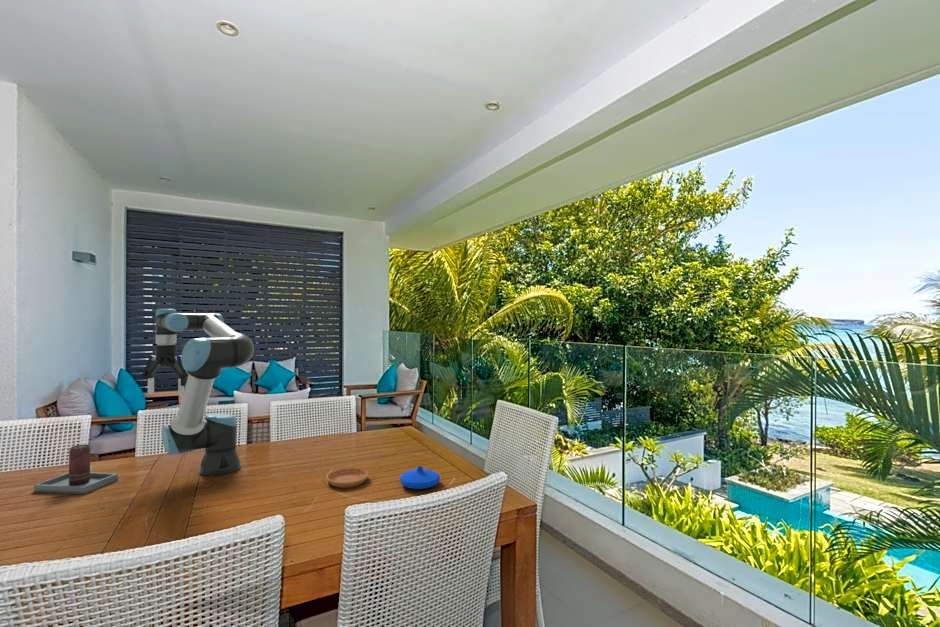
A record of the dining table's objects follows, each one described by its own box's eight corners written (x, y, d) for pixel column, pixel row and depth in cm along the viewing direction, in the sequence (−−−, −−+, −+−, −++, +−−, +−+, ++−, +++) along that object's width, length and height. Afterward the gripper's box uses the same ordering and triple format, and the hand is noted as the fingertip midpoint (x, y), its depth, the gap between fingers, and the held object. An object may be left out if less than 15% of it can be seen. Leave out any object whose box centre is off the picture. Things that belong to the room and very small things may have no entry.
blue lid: (407, 496, 162) (407, 477, 162) (394, 481, 176) (394, 464, 176) (446, 489, 170) (446, 470, 170) (430, 475, 184) (431, 458, 184)
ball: (94, 472, 182) (94, 464, 182) (85, 476, 179) (85, 467, 179) (86, 472, 183) (86, 463, 183) (77, 475, 179) (77, 466, 179)
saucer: (375, 477, 181) (375, 470, 181) (353, 492, 166) (353, 484, 166) (342, 472, 186) (342, 465, 186) (317, 486, 171) (317, 478, 171)
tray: (117, 480, 175) (117, 473, 175) (83, 494, 161) (83, 487, 161) (71, 477, 177) (71, 471, 177) (34, 491, 163) (34, 484, 163)
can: (63, 485, 167) (63, 448, 167) (81, 479, 173) (81, 443, 173) (76, 486, 166) (77, 449, 166) (94, 480, 172) (94, 444, 172)
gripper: (199, 343, 195) (199, 392, 195) (145, 343, 197) (145, 391, 197) (188, 345, 188) (187, 395, 188) (131, 344, 189) (131, 394, 189)
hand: (166, 393), depth 192 cm, fingers open, 13 cm apart
